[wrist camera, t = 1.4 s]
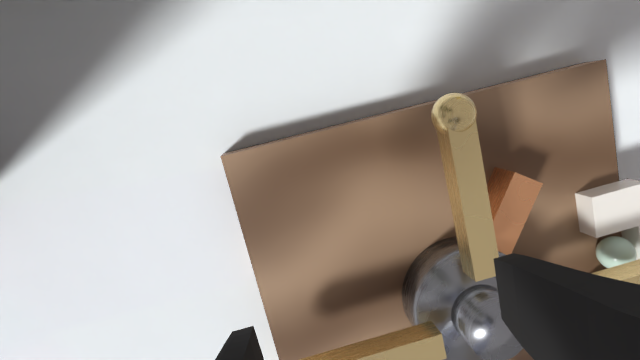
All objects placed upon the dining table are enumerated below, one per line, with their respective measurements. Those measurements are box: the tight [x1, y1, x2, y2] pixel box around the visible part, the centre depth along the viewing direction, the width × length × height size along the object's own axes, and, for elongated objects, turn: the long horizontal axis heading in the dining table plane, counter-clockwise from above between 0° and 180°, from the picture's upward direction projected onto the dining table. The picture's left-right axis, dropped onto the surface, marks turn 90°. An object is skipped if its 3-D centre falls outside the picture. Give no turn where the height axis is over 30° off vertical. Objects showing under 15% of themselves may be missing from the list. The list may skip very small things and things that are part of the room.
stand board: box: [221, 59, 622, 360], centre depth 24 cm, size 20×20×2 cm
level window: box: [575, 179, 640, 268], centre depth 23 cm, size 7×3×2 cm, turn 13°
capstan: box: [299, 93, 640, 360], centre depth 21 cm, size 21×21×4 cm
